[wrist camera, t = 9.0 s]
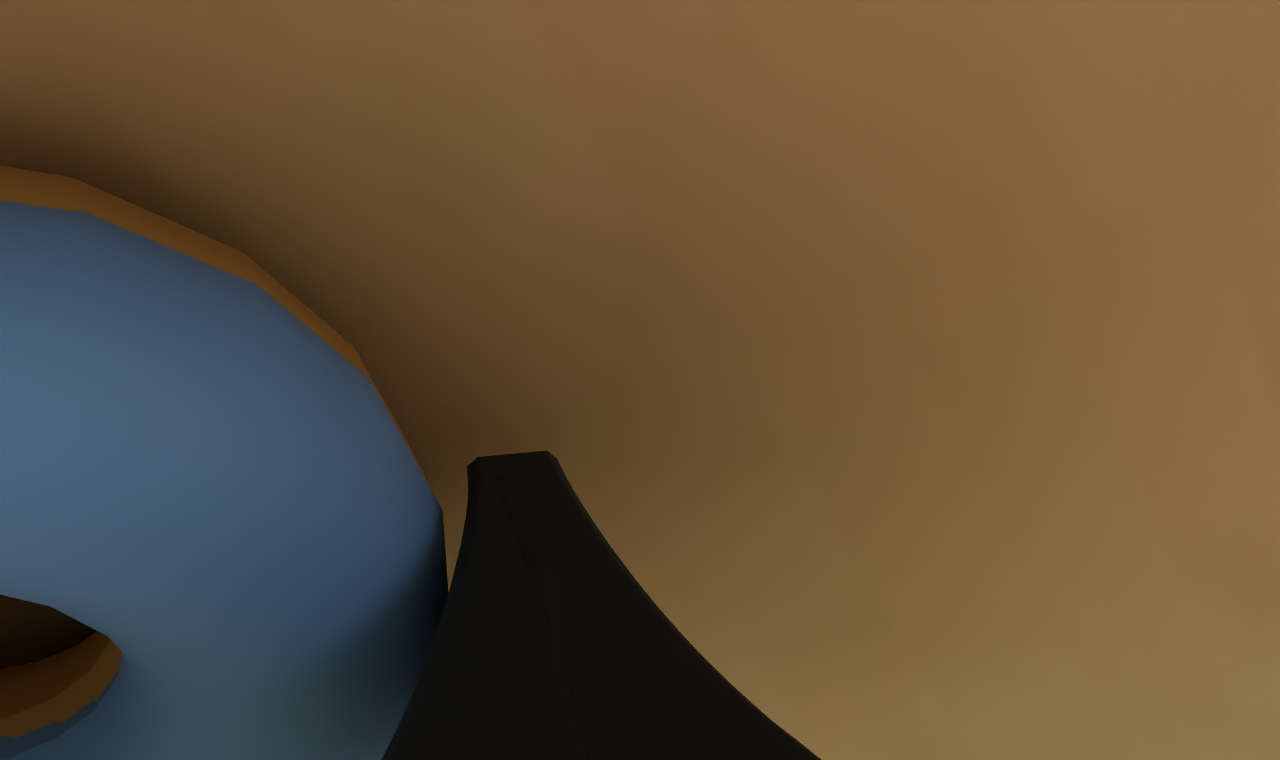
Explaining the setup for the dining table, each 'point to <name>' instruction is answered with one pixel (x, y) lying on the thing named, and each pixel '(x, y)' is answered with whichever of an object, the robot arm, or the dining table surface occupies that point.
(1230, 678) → the dining table surface
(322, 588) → the doughnut
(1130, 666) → the dining table surface
